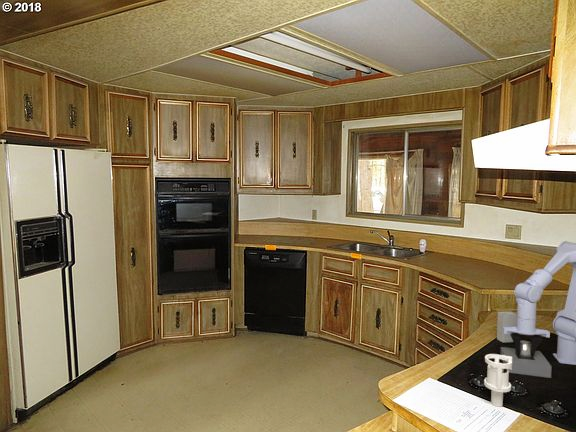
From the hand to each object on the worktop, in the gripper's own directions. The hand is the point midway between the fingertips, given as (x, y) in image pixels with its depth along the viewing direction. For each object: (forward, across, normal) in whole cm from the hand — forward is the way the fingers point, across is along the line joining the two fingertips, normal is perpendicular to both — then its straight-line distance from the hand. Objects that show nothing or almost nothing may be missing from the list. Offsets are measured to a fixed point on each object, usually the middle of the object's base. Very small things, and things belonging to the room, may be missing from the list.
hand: (524, 354), depth 142 cm
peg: (+3, 0, 0) cm, 3 cm away
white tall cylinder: (+5, +16, +29) cm, 33 cm away
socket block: (+5, 0, 0) cm, 5 cm away
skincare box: (+5, 0, -25) cm, 25 cm away
